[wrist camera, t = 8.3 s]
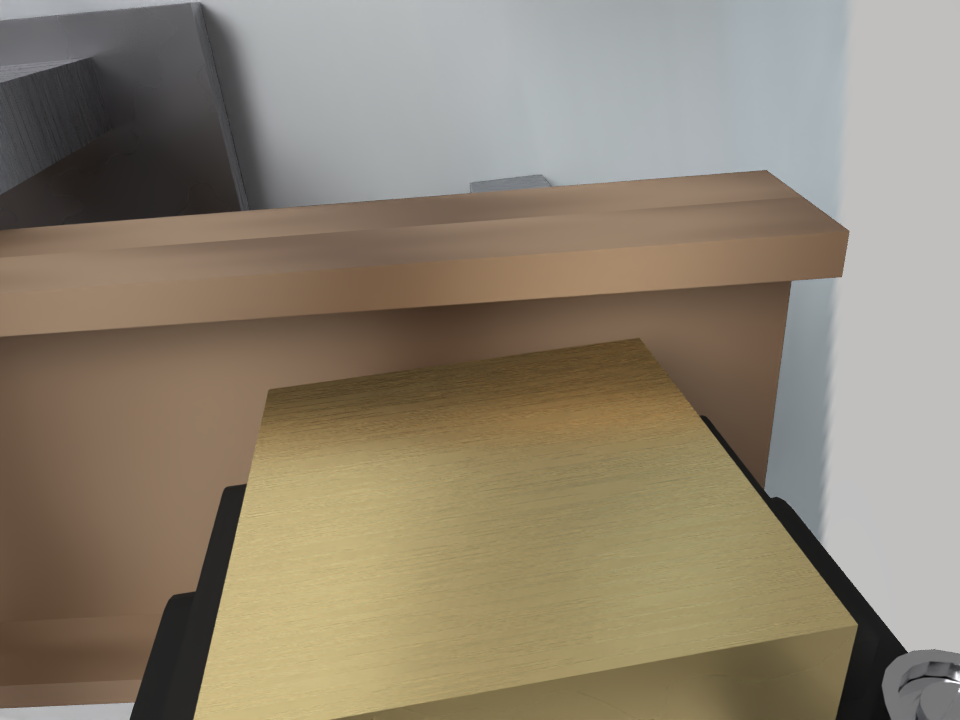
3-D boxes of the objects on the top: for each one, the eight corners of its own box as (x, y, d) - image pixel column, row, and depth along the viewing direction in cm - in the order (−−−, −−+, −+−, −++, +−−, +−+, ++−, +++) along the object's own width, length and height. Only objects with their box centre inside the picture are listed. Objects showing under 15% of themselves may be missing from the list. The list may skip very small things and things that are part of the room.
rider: (268, 389, 9) (188, 745, 5) (639, 337, 10) (857, 625, 6) (336, 651, 12) (319, 1045, 7) (632, 600, 12) (780, 946, 8)
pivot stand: (61, 512, 23) (-75, 744, 16) (-157, 35, 17) (-548, 79, 10) (312, 475, 24) (287, 684, 17) (199, 1, 17) (79, 18, 10)
